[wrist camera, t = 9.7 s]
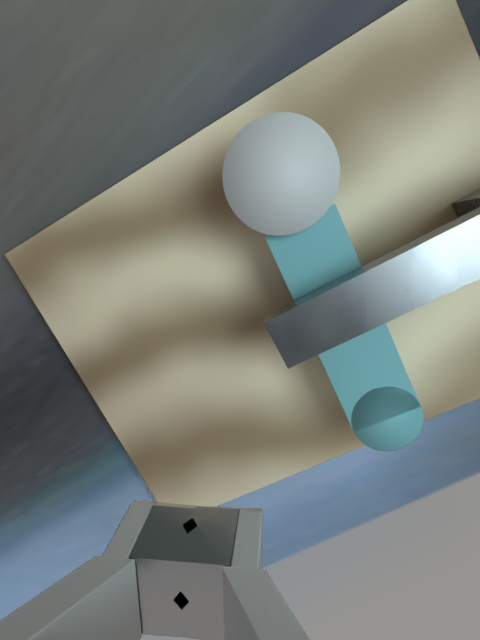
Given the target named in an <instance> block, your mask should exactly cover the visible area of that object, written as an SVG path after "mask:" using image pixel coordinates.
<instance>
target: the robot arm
mask: <svg viewBox="0 0 480 640" xmlns="http://www.w3.org/2000/svg"><path fill="white" fill-rule="evenodd" d="M142 634H143V635H158V636H173V637H186V638H192V639H200V640H310V639H309V638H308V636H307V634H306V633H305V631H304V630H303V628H302V626H301V625H300V624H299V622H298V620H297V619H296V617H295V616H294V614H293V612H292V611H291V609H290V608H289V606H288V604H287V603H286V602H285V600H284V598H283V597H282V595H281V593H280V592H279V590H278V589H277V587H276V586H275V584H274V582H273V581H272V579H271V578H270V576H269V575H268V573H267V571H266V570H263V510H262V509H259V508H225V507H208V506H195V505H184V504H173V503H162V502H156V503H155V502H146V501H134V502H133V503H132V504H131V505H130V506H129V508H128V510H127V512H126V514H125V515H124V517H123V519H122V521H121V523H120V524H119V526H118V528H117V530H116V532H115V534H114V535H113V537H112V539H111V541H110V543H109V544H108V546H107V548H106V550H105V552H104V553H103V555H102V556H95V557H93V558H92V559H90V560H89V561H87V562H86V563H84V564H83V565H81V566H80V567H78V568H77V569H75V570H74V571H72V572H71V573H70V574H68V575H67V576H65V577H64V578H62V579H61V580H59V581H58V582H56V583H55V584H53V585H52V586H50V587H49V588H48V589H46V590H45V591H43V592H42V593H40V594H39V595H37V596H36V597H34V598H33V599H31V600H30V601H28V602H27V603H25V604H24V605H23V606H21V607H20V608H18V609H17V610H15V611H14V612H12V613H11V614H9V615H8V616H6V617H5V618H3V619H2V620H1V621H0V640H140V639H141V638H142Z"/></svg>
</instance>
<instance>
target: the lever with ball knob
mask: <svg viewBox="0 0 480 640" xmlns="http://www.w3.org/2000/svg"><path fill="white" fill-rule="evenodd" d="M222 181H223V188H224V192H225V196H226V198H227V201H228V203H229V205H230V207H231V209H232V210H233V212H234V213H235V214H236V216H237V217H238V218H239V219H240V220H241V221H242V222H243V223H245V224H246V225H247V226H249V227H250V228H252V229H254V230H256V231H258V232H261V233H264V234H268V235H269V236H267V237H265V239H266V241H267V243H268V245H269V247H270V250H271V252H272V254H273V256H274V258H275V261H276V263H277V265H278V267H279V269H280V271H281V274H282V276H283V278H284V280H285V282H286V285H287V287H288V289H289V291H290V293H291V295H292V298H293V300H296V299H298V298H300V297H302V296H304V295H306V294H308V293H310V292H312V291H314V290H316V289H318V288H320V287H322V286H324V285H326V284H328V283H330V282H332V281H334V280H336V279H338V278H340V277H342V276H344V275H346V274H348V273H350V272H352V271H354V270H356V269H358V268H360V267H362V266H361V264H360V261H359V259H358V257H357V254H356V252H355V249H354V247H353V245H352V242H351V240H350V238H349V235H348V233H347V231H346V228H345V226H344V224H343V221H342V219H341V216H340V214H339V212H338V209H337V207H336V205H335V204H333V205H331V204H332V203H333V200H334V198H335V196H336V193H337V190H338V187H339V181H340V162H339V157H338V153H337V150H336V147H335V145H334V143H333V141H332V139H331V138H330V136H329V135H328V133H327V132H326V131H325V130H324V129H323V128H322V127H321V126H320V125H319V124H317V123H316V122H315V121H313V120H311V119H310V118H308V117H306V116H303V115H300V114H297V113H292V112H275V113H270V114H267V115H263V116H261V117H259V118H257V119H255V120H253V121H252V122H250V123H249V124H247V125H246V126H245V127H244V128H243V129H242V130H241V131H240V132H239V133H238V134H237V135H236V137H235V138H234V140H233V141H232V143H231V145H230V146H229V148H228V151H227V153H226V156H225V160H224V164H223V171H222ZM319 357H320V359H321V361H322V363H323V365H324V368H325V370H326V372H327V374H328V376H329V379H330V381H331V383H332V385H333V387H334V390H335V392H336V394H337V396H338V398H339V400H340V403H341V405H342V407H343V409H344V411H345V414H346V416H347V418H348V420H349V422H350V425H351V427H352V429H353V431H354V433H355V435H356V436H357V438H358V439H359V440H360V441H361V442H362V443H363V444H365V445H366V446H368V447H370V448H372V449H375V450H379V451H394V450H398V449H401V448H403V447H405V446H407V445H409V444H410V443H411V442H413V441H414V440H415V439H416V437H417V436H418V435H419V433H420V431H421V429H422V426H423V420H424V419H423V411H422V408H421V405H420V403H419V400H418V398H417V396H416V393H415V391H414V389H413V386H412V384H411V381H410V379H409V377H408V374H407V372H406V370H405V367H404V365H403V363H402V360H401V358H400V356H399V353H398V351H397V348H396V346H395V344H394V341H393V339H392V337H391V334H390V332H389V330H388V327H387V325H386V323H385V324H383V325H380V326H378V327H376V328H374V329H372V330H370V331H368V332H366V333H363V334H361V335H359V336H357V337H355V338H353V339H351V340H349V341H346V342H344V343H342V344H340V345H338V346H336V347H334V348H331V349H329V350H327V351H325V352H323V353H321V354H319Z"/></svg>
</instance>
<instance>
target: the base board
mask: <svg viewBox="0 0 480 640" xmlns="http://www.w3.org/2000/svg"><path fill="white" fill-rule="evenodd" d="M275 112H292V113H297V114H300V115H303V116H306V117H308V118H310V119H311V120H313V121H315V122H316V123H317V124H319V125H320V126H321V127H322V128H323V129H324V130H325V131H326V132H327V133H328V135H329V136H330V138H331V139H332V141H333V143H334V145H335V147H336V150H337V153H338V157H339V162H340V181H339V187H338V190H337V193H336V196H335V198H334V200H333V203H332V204H331V205H333V204H335V205H336V207H337V209H338V212H339V214H340V216H341V219H342V221H343V224H344V226H345V228H346V231H347V233H348V235H349V238H350V240H351V242H352V245H353V247H354V249H355V252H356V254H357V257H358V259H359V261H360V264H361V266H364V265H366V264H368V263H370V262H372V261H374V260H376V259H378V258H380V257H382V256H384V255H386V254H388V253H390V252H391V251H393V250H395V249H397V248H399V247H401V246H403V245H405V244H407V243H409V242H411V241H413V240H415V239H417V238H419V237H421V236H423V235H425V234H427V233H429V232H431V231H433V230H435V229H437V228H439V227H441V226H443V225H445V224H447V223H449V222H451V221H453V220H455V219H457V216H456V214H455V211H454V209H453V207H452V205H451V203H453V202H455V201H457V200H459V199H461V198H463V197H465V196H466V195H468V194H470V193H472V192H474V191H476V190H478V189H480V59H479V56H478V54H477V51H476V49H475V46H474V44H473V42H472V39H471V37H470V34H469V32H468V29H467V27H466V24H465V22H464V20H463V17H462V15H461V12H460V10H459V7H458V5H457V2H456V0H408V1H406V2H405V3H403V4H402V5H400V6H398V7H397V8H395V9H394V10H392V11H390V12H389V13H387V14H386V15H384V16H383V17H381V18H379V19H378V20H376V21H375V22H373V23H371V24H370V25H368V26H367V27H365V28H363V29H362V30H360V31H359V32H357V33H356V34H354V35H352V36H351V37H349V38H348V39H346V40H344V41H343V42H341V43H340V44H338V45H336V46H335V47H333V48H332V49H330V50H329V51H327V52H325V53H324V54H322V55H321V56H319V57H317V58H316V59H314V60H313V61H311V62H309V63H308V64H306V65H305V66H303V67H302V68H300V69H298V70H297V71H295V72H294V73H292V74H290V75H289V76H287V77H286V78H284V79H282V80H281V81H279V82H278V83H276V84H275V85H273V86H271V87H270V88H268V89H267V90H265V91H263V92H262V93H260V94H259V95H257V96H255V97H254V98H252V99H251V100H249V101H247V102H246V103H244V104H243V105H241V106H240V107H238V108H236V109H235V110H233V111H232V112H230V113H228V114H227V115H225V116H224V117H222V118H220V119H219V120H217V121H216V122H214V123H213V124H211V125H209V126H208V127H206V128H205V129H203V130H201V131H200V132H198V133H197V134H195V135H193V136H192V137H190V138H189V139H187V140H186V141H184V142H182V143H181V144H179V145H178V146H176V147H174V148H173V149H171V150H170V151H168V152H166V153H165V154H163V155H162V156H160V157H159V158H157V159H155V160H154V161H152V162H151V163H149V164H147V165H146V166H144V167H143V168H141V169H139V170H138V171H136V172H135V173H133V174H132V175H130V176H128V177H127V178H125V179H124V180H122V181H120V182H119V183H117V184H116V185H114V186H112V187H111V188H109V189H108V190H106V191H105V192H103V193H101V194H100V195H98V196H97V197H95V198H93V199H92V200H90V201H89V202H87V203H85V204H84V205H82V206H81V207H79V208H78V209H76V210H74V211H73V212H71V213H70V214H68V215H66V216H65V217H63V218H62V219H60V220H58V221H57V222H55V223H54V224H52V225H51V226H49V227H47V228H46V229H44V230H43V231H41V232H39V233H38V234H36V235H35V236H33V237H31V238H30V239H28V240H27V241H25V242H24V243H22V244H20V245H19V246H17V247H16V248H14V249H12V250H11V251H9V252H8V253H6V254H5V256H6V258H7V259H8V261H9V262H10V264H11V266H12V267H13V269H14V271H15V272H16V274H17V275H18V277H19V279H20V280H21V282H22V283H23V285H24V287H25V288H26V290H27V292H28V293H29V295H30V296H31V298H32V300H33V301H34V303H35V304H36V306H37V308H38V309H39V311H40V313H41V314H42V316H43V317H44V319H45V321H46V322H47V324H48V325H49V327H50V329H51V330H52V332H53V334H54V335H55V337H56V338H57V340H58V342H59V343H60V345H61V347H62V348H63V350H64V351H65V353H66V355H67V356H68V358H69V359H70V361H71V363H72V364H73V366H74V368H75V369H76V371H77V372H78V374H79V376H80V377H81V379H82V380H83V382H84V384H85V385H86V387H87V389H88V390H89V392H90V393H91V395H92V397H93V398H94V400H95V401H96V403H97V405H98V406H99V408H100V410H101V411H102V413H103V414H104V416H105V418H106V419H107V421H108V423H109V424H110V426H111V427H112V429H113V431H114V432H115V434H116V435H117V437H118V439H119V440H120V442H121V444H122V445H123V447H124V448H125V450H126V452H127V453H128V455H129V456H130V458H131V460H132V461H133V463H134V465H135V466H136V468H137V469H138V471H139V473H140V474H141V476H142V477H143V479H144V481H145V482H146V484H147V486H148V487H149V489H150V490H151V492H152V494H153V495H154V497H155V499H156V500H157V502H162V503H173V504H184V505H195V506H208V507H216V506H219V505H221V504H223V503H226V502H228V501H231V500H233V499H236V498H238V497H240V496H243V495H245V494H248V493H250V492H253V491H255V490H258V489H260V488H262V487H265V486H267V485H270V484H272V483H275V482H277V481H279V480H282V479H284V478H287V477H289V476H292V475H294V474H297V473H299V472H301V471H304V470H306V469H309V468H311V467H314V466H316V465H318V464H321V463H323V462H326V461H328V460H331V459H333V458H336V457H338V456H340V455H343V454H345V453H348V452H350V451H353V450H355V449H357V448H360V447H362V446H365V444H363V443H362V442H361V441H360V440H359V439H358V438H357V436H356V435H355V433H354V431H353V429H352V427H351V425H350V422H349V420H348V418H347V416H346V414H345V411H344V409H343V407H342V405H341V403H340V400H339V398H338V396H337V394H336V392H335V390H334V387H333V385H332V383H331V381H330V379H329V376H328V374H327V372H326V370H325V368H324V365H323V363H322V361H321V359H320V357H319V355H317V356H314V357H312V358H310V359H308V360H306V361H304V362H302V363H300V364H297V365H295V366H293V367H291V368H289V369H288V368H287V366H286V364H285V362H284V360H283V359H282V357H281V355H280V353H279V351H278V349H277V347H276V345H275V344H274V342H273V340H272V338H271V336H270V334H269V332H268V330H267V329H266V327H265V325H264V319H265V315H267V314H269V313H271V312H273V311H275V310H277V309H279V308H281V307H283V306H285V305H287V304H289V303H290V302H292V301H294V300H293V298H292V295H291V293H290V291H289V289H288V287H287V285H286V282H285V280H284V278H283V276H282V274H281V271H280V269H279V267H278V265H277V263H276V261H275V258H274V256H273V254H272V252H271V250H270V247H269V245H268V243H267V241H266V239H265V237H267V236H269V235H268V234H264V233H261V232H258V231H256V230H254V229H252V228H250V227H249V226H247V225H246V224H245V223H243V222H242V221H241V220H240V219H239V218H238V217H237V216H236V214H235V213H234V212H233V210H232V209H231V207H230V205H229V203H228V201H227V198H226V196H225V192H224V188H223V181H222V171H223V164H224V160H225V156H226V153H227V151H228V148H229V146H230V145H231V143H232V141H233V140H234V138H235V137H236V135H237V134H238V133H239V132H240V131H241V130H242V129H243V128H244V127H245V126H246V125H247V124H249V123H250V122H252V121H253V120H255V119H257V118H259V117H261V116H263V115H267V114H270V113H275ZM386 325H387V327H388V330H389V332H390V334H391V337H392V339H393V341H394V344H395V346H396V348H397V351H398V353H399V356H400V358H401V360H402V363H403V365H404V367H405V370H406V372H407V374H408V377H409V379H410V381H411V384H412V386H413V389H414V391H415V393H416V396H417V398H418V400H419V403H420V405H421V408H422V411H423V419H424V420H423V421H426V420H428V419H431V418H433V417H435V416H438V415H440V414H443V413H445V412H448V411H450V410H452V409H455V408H457V407H460V406H462V405H465V404H467V403H470V402H472V401H474V400H477V399H479V398H480V279H478V280H476V281H474V282H472V283H470V284H468V285H466V286H464V287H461V288H459V289H457V290H455V291H453V292H451V293H449V294H447V295H444V296H442V297H440V298H438V299H436V300H434V301H432V302H429V303H427V304H425V305H423V306H421V307H419V308H417V309H415V310H412V311H410V312H408V313H406V314H404V315H402V316H400V317H398V318H395V319H393V320H391V321H389V322H387V323H386Z"/></svg>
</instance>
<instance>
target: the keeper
mask: <svg viewBox="0 0 480 640" xmlns="http://www.w3.org/2000/svg"><path fill="white" fill-rule="evenodd" d="M451 205H452V207H453V209H454V211H455V214H456V216H457V219H455V220H453V221H451V222H449V223H447V224H445V225H443V226H441V227H439V228H437V229H435V230H433V231H431V232H429V233H427V234H425V235H423V236H421V237H419V238H417V239H415V240H413V241H411V242H409V243H407V244H405V245H403V246H401V247H399V248H397V249H395V250H393V251H391V252H390V253H388V254H386V255H384V256H382V257H380V258H378V259H376V260H374V261H372V262H370V263H368V264H366V265H364V266H362V267H360V268H358V269H356V270H354V271H352V272H350V273H348V274H346V275H344V276H342V277H340V278H338V279H336V280H334V281H332V282H330V283H328V284H326V285H324V286H322V287H320V288H318V289H316V290H314V291H312V292H310V293H308V294H306V295H304V296H302V297H300V298H298V299H296V300H294V301H292V302H290V303H289V304H287V305H285V306H283V307H281V308H279V309H277V310H275V311H273V312H271V313H269V314H267V315H265V319H264V325H265V327H266V329H267V330H268V332H269V334H270V336H271V338H272V340H273V342H274V344H275V345H276V347H277V349H278V351H279V353H280V355H281V357H282V359H283V360H284V362H285V364H286V366H287V368H288V369H289V368H291V367H293V366H295V365H297V364H300V363H302V362H304V361H306V360H308V359H310V358H312V357H314V356H317V355H319V354H321V353H323V352H325V351H327V350H329V349H331V348H334V347H336V346H338V345H340V344H342V343H344V342H346V341H349V340H351V339H353V338H355V337H357V336H359V335H361V334H363V333H366V332H368V331H370V330H372V329H374V328H376V327H378V326H380V325H383V324H385V323H387V322H389V321H391V320H393V319H395V318H398V317H400V316H402V315H404V314H406V313H408V312H410V311H412V310H415V309H417V308H419V307H421V306H423V305H425V304H427V303H429V302H432V301H434V300H436V299H438V298H440V297H442V296H444V295H447V294H449V293H451V292H453V291H455V290H457V289H459V288H461V287H464V286H466V285H468V284H470V283H472V282H474V281H476V280H478V279H480V189H478V190H476V191H474V192H472V193H470V194H468V195H466V196H465V197H463V198H461V199H459V200H457V201H455V202H453V203H451Z"/></svg>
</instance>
